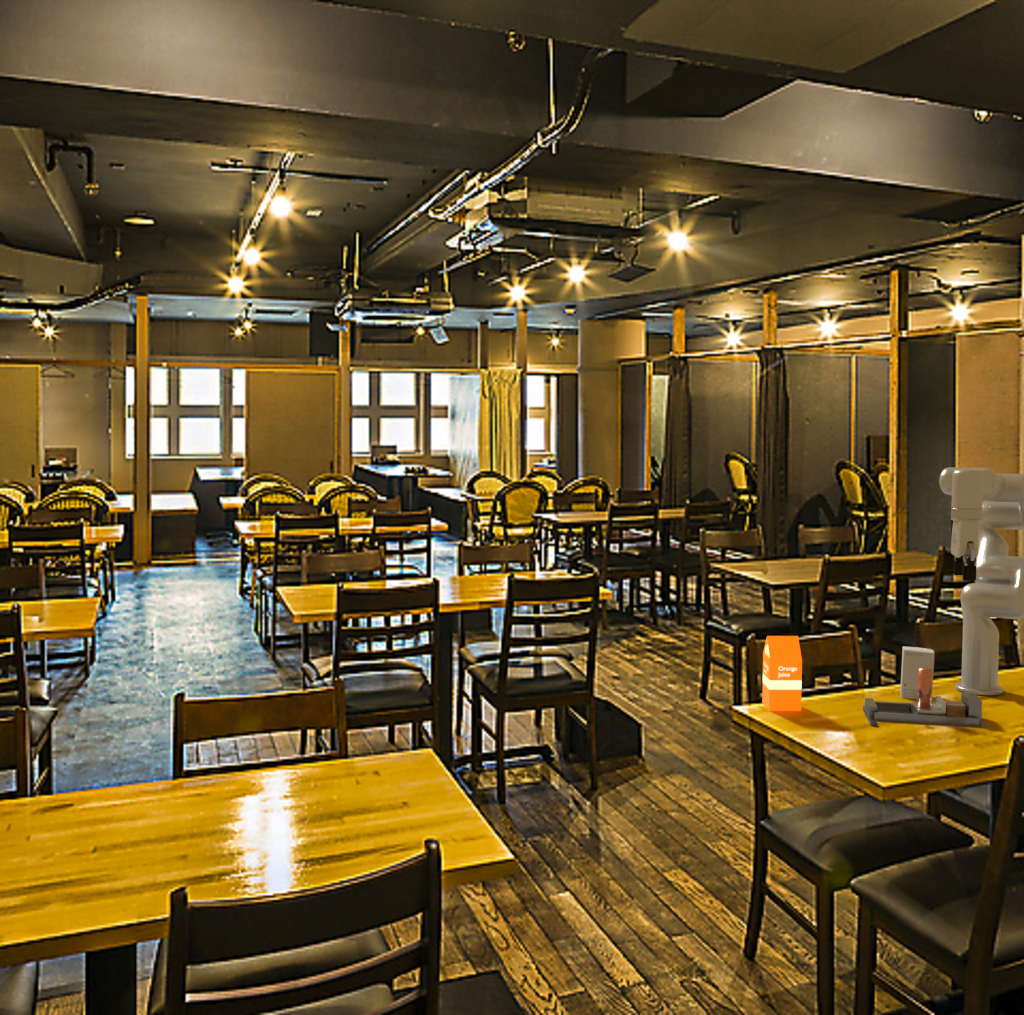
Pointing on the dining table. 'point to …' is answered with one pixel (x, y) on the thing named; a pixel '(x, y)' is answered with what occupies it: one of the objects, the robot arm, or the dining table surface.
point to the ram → (927, 696)
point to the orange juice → (782, 674)
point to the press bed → (903, 714)
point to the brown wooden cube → (955, 708)
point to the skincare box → (914, 669)
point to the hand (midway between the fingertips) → (964, 577)
